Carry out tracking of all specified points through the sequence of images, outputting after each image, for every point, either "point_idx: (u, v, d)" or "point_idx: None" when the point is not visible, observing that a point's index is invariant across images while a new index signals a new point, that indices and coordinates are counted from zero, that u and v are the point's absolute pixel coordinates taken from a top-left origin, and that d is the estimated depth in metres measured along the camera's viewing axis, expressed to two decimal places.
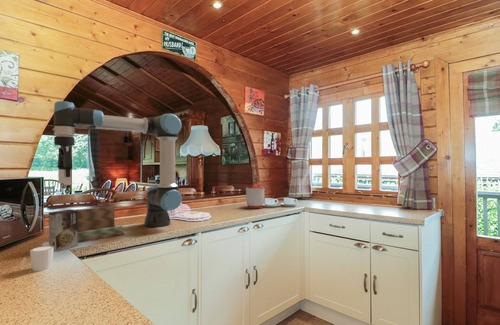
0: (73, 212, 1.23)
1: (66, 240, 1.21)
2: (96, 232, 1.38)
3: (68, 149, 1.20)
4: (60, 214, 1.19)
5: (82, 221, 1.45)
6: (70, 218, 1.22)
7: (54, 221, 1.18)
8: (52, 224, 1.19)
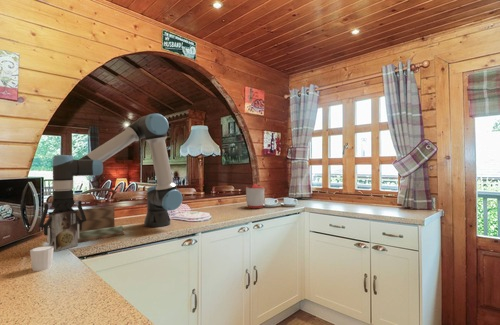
0: (73, 212, 1.23)
1: (66, 240, 1.21)
2: (96, 232, 1.38)
3: (44, 207, 1.18)
4: (60, 214, 1.19)
5: None
6: (70, 218, 1.22)
7: (53, 221, 1.18)
8: (52, 224, 1.19)
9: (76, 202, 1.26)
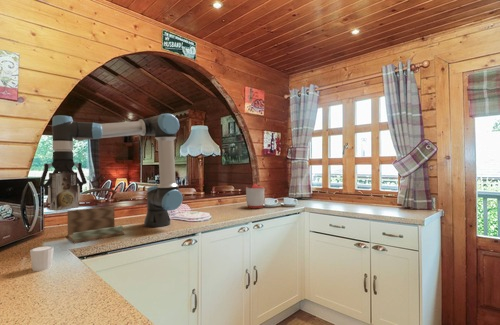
0: (73, 173, 1.23)
1: (66, 200, 1.21)
2: (96, 232, 1.38)
3: (44, 166, 1.18)
4: (60, 174, 1.19)
5: (82, 221, 1.45)
6: (70, 179, 1.22)
7: (54, 181, 1.18)
8: (52, 184, 1.19)
9: (76, 164, 1.26)
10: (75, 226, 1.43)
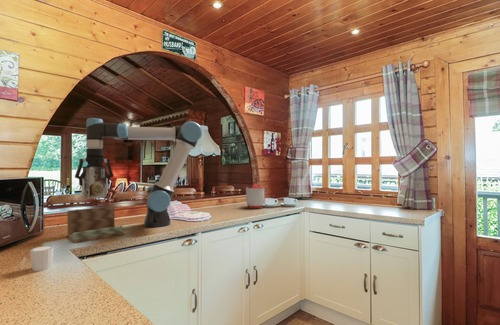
0: (103, 167, 1.45)
1: (97, 190, 1.42)
2: (96, 232, 1.38)
3: (79, 161, 1.39)
4: (93, 168, 1.40)
5: (82, 221, 1.45)
6: (101, 173, 1.43)
7: (87, 173, 1.39)
8: (86, 176, 1.40)
9: (105, 160, 1.47)
10: (75, 226, 1.43)
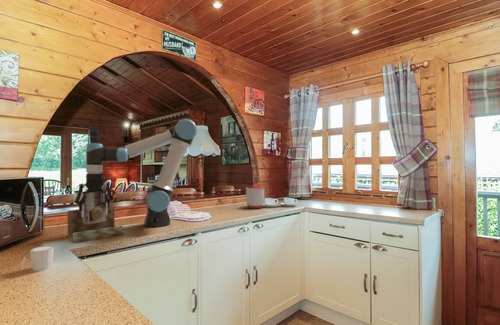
0: (102, 192, 1.45)
1: (97, 215, 1.42)
2: (96, 232, 1.38)
3: (79, 187, 1.40)
4: (92, 193, 1.41)
5: (82, 221, 1.45)
6: (100, 197, 1.44)
7: (87, 199, 1.40)
8: (85, 201, 1.40)
9: (105, 184, 1.47)
10: (75, 226, 1.43)
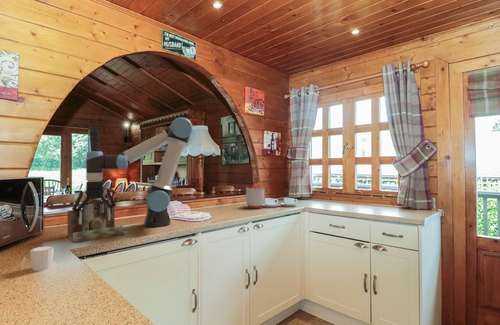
0: (102, 202, 1.45)
1: (96, 226, 1.42)
2: (96, 232, 1.38)
3: (79, 194, 1.39)
4: (92, 204, 1.40)
5: None
6: (100, 208, 1.44)
7: (87, 210, 1.40)
8: (85, 212, 1.40)
9: (105, 191, 1.47)
10: (75, 226, 1.43)
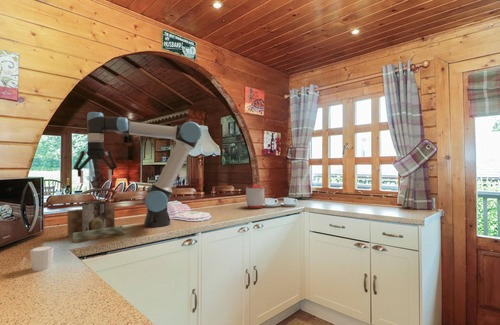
0: (102, 203, 1.45)
1: (97, 226, 1.42)
2: (96, 232, 1.38)
3: (81, 153, 1.41)
4: (92, 204, 1.40)
5: None
6: (100, 208, 1.44)
7: (87, 210, 1.39)
8: (85, 212, 1.40)
9: (106, 152, 1.49)
10: (75, 226, 1.43)
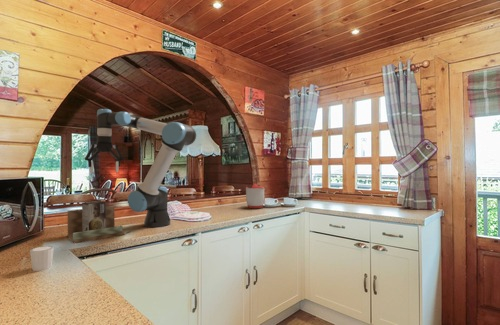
0: (102, 203, 1.45)
1: (97, 226, 1.42)
2: (96, 232, 1.38)
3: (91, 146, 1.57)
4: (92, 204, 1.40)
5: None
6: (100, 208, 1.44)
7: (87, 210, 1.39)
8: (85, 212, 1.40)
9: (113, 146, 1.65)
10: (75, 226, 1.43)
